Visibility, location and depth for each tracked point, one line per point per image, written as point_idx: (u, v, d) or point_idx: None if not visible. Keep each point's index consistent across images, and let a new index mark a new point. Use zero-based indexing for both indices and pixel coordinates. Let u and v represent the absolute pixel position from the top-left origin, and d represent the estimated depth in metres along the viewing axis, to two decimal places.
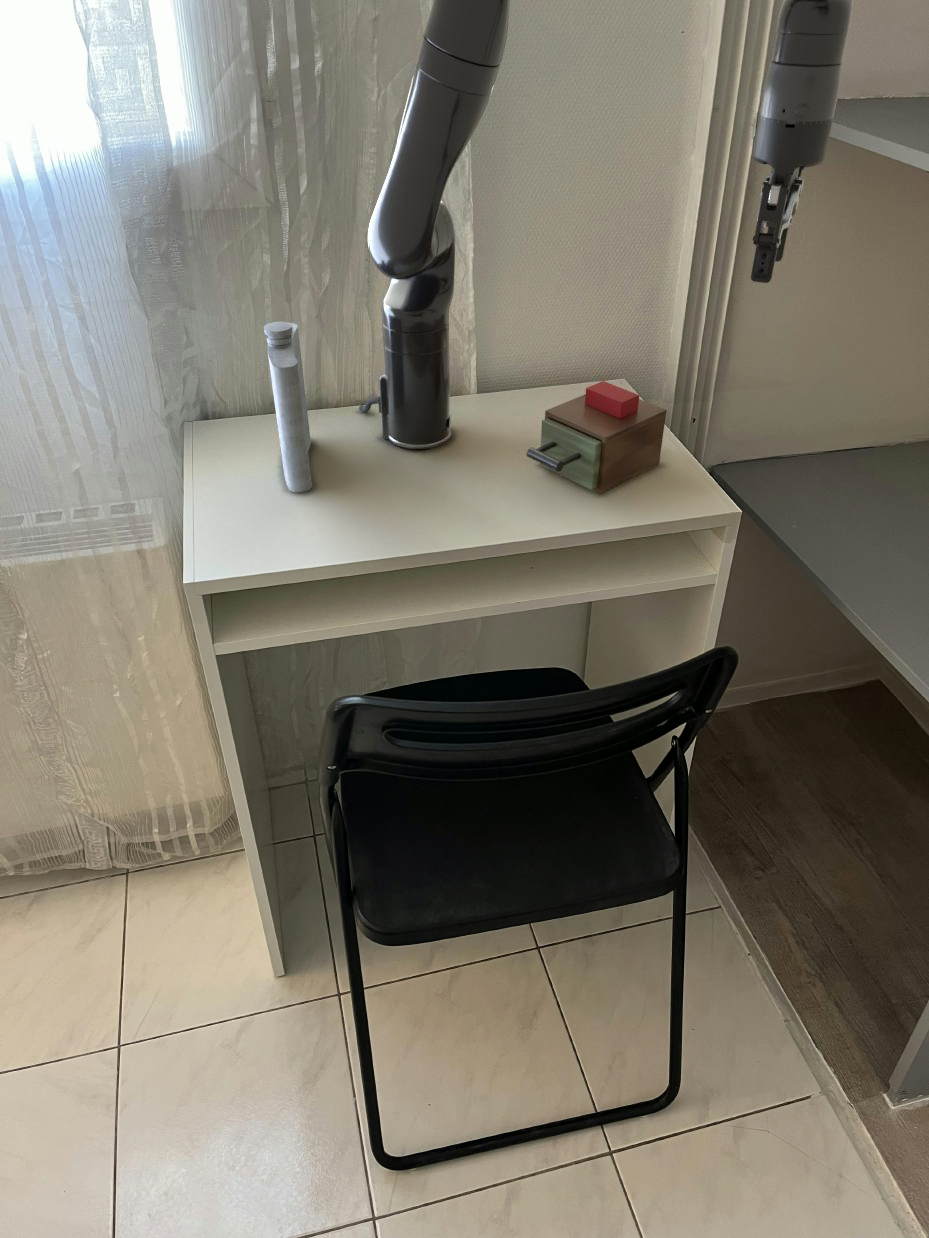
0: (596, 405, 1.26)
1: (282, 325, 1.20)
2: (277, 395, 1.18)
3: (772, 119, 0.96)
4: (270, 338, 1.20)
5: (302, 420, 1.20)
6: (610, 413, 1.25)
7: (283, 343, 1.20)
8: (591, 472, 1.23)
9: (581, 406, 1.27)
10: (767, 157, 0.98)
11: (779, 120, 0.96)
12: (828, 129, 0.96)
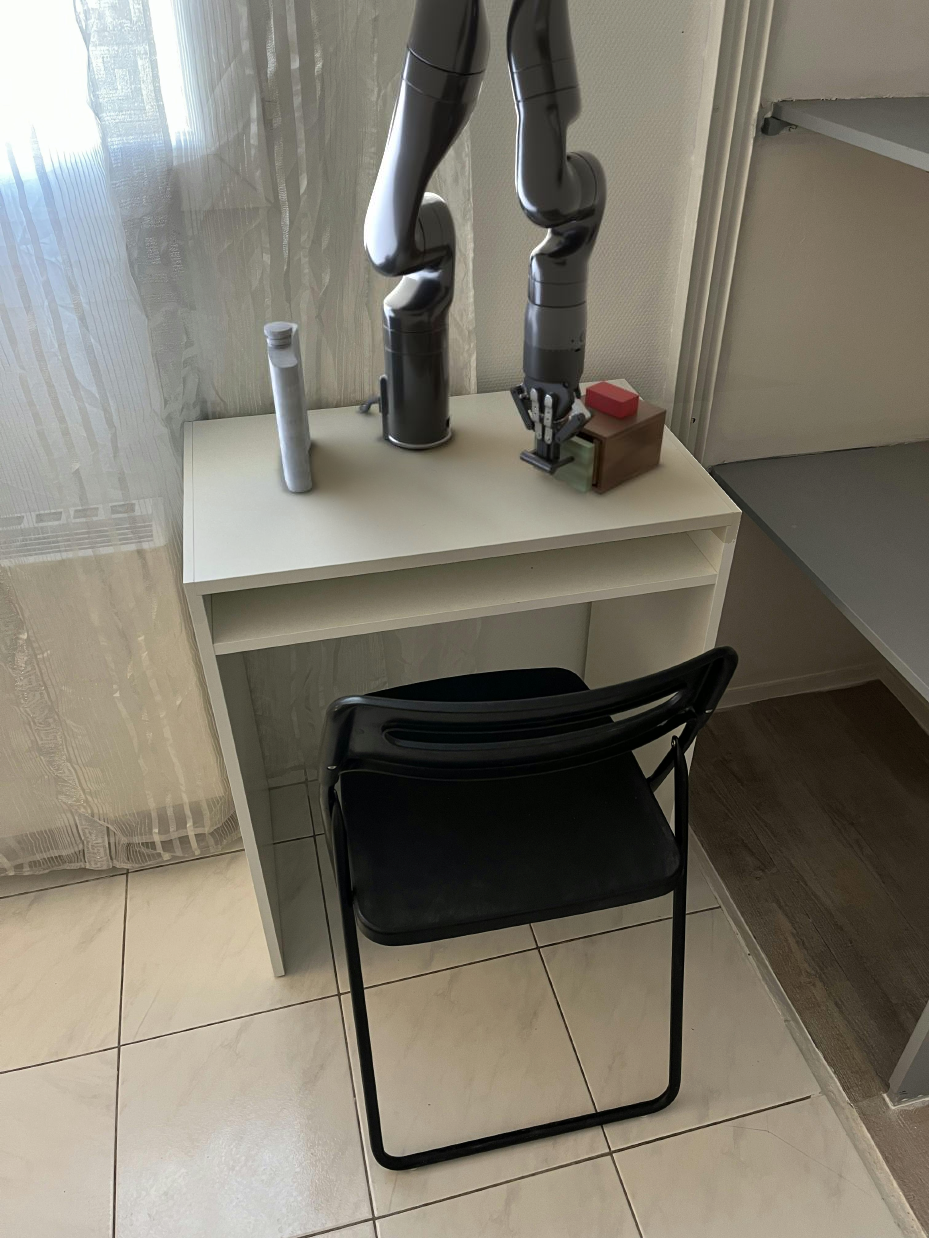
0: (596, 405, 1.26)
1: (282, 325, 1.20)
2: (277, 395, 1.18)
3: (563, 349, 1.10)
4: (270, 338, 1.20)
5: (302, 420, 1.20)
6: (610, 413, 1.25)
7: (283, 343, 1.20)
8: (584, 475, 1.22)
9: None
10: (563, 378, 1.12)
11: (569, 348, 1.10)
12: None
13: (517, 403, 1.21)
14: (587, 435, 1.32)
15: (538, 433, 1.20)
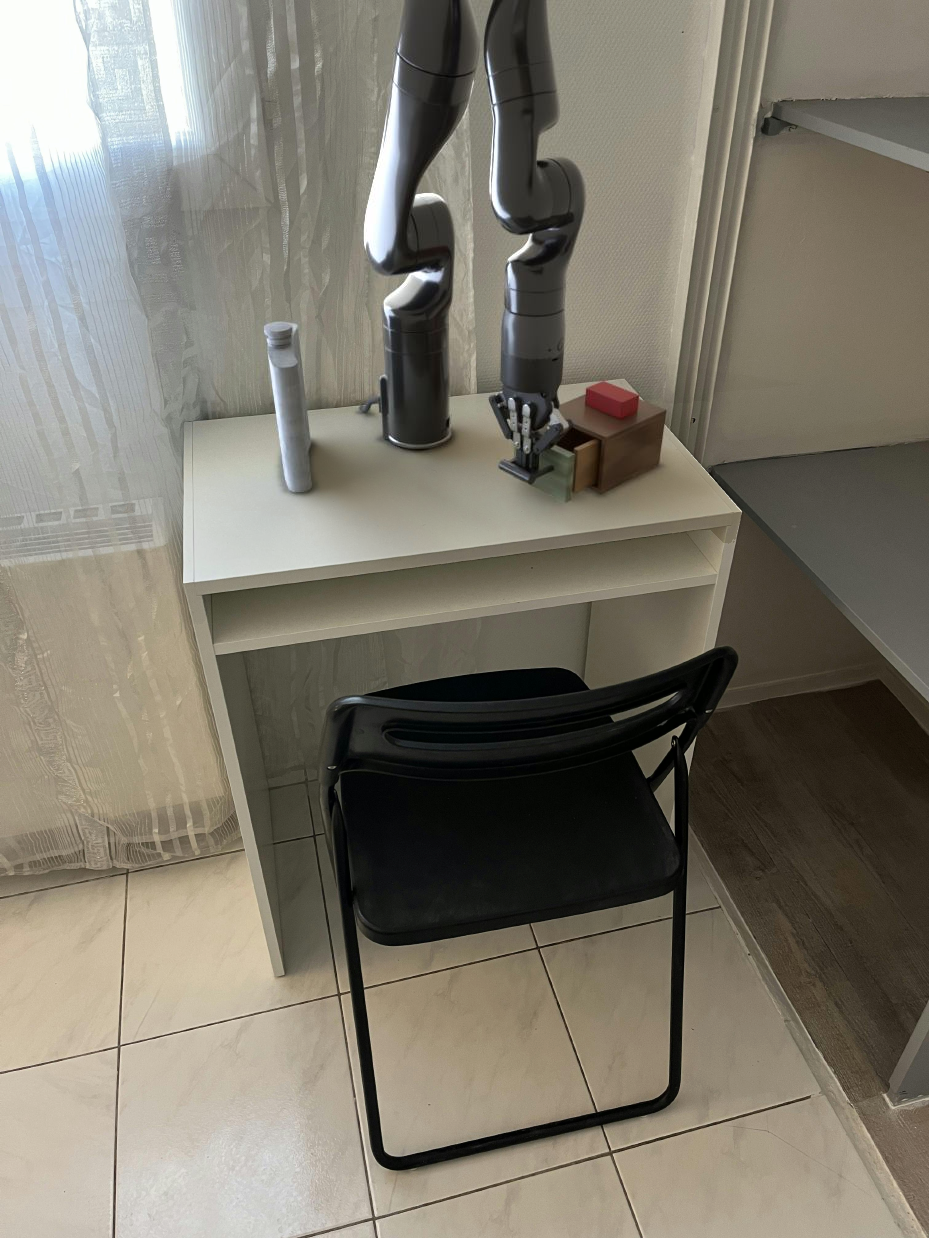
0: (596, 405, 1.26)
1: (282, 325, 1.20)
2: (277, 395, 1.18)
3: (540, 358, 1.08)
4: (270, 338, 1.20)
5: (302, 420, 1.20)
6: (610, 413, 1.25)
7: (283, 343, 1.20)
8: (564, 485, 1.20)
9: (581, 406, 1.27)
10: (540, 387, 1.10)
11: (547, 358, 1.08)
12: None
13: (496, 412, 1.19)
14: (568, 443, 1.30)
15: (517, 443, 1.18)
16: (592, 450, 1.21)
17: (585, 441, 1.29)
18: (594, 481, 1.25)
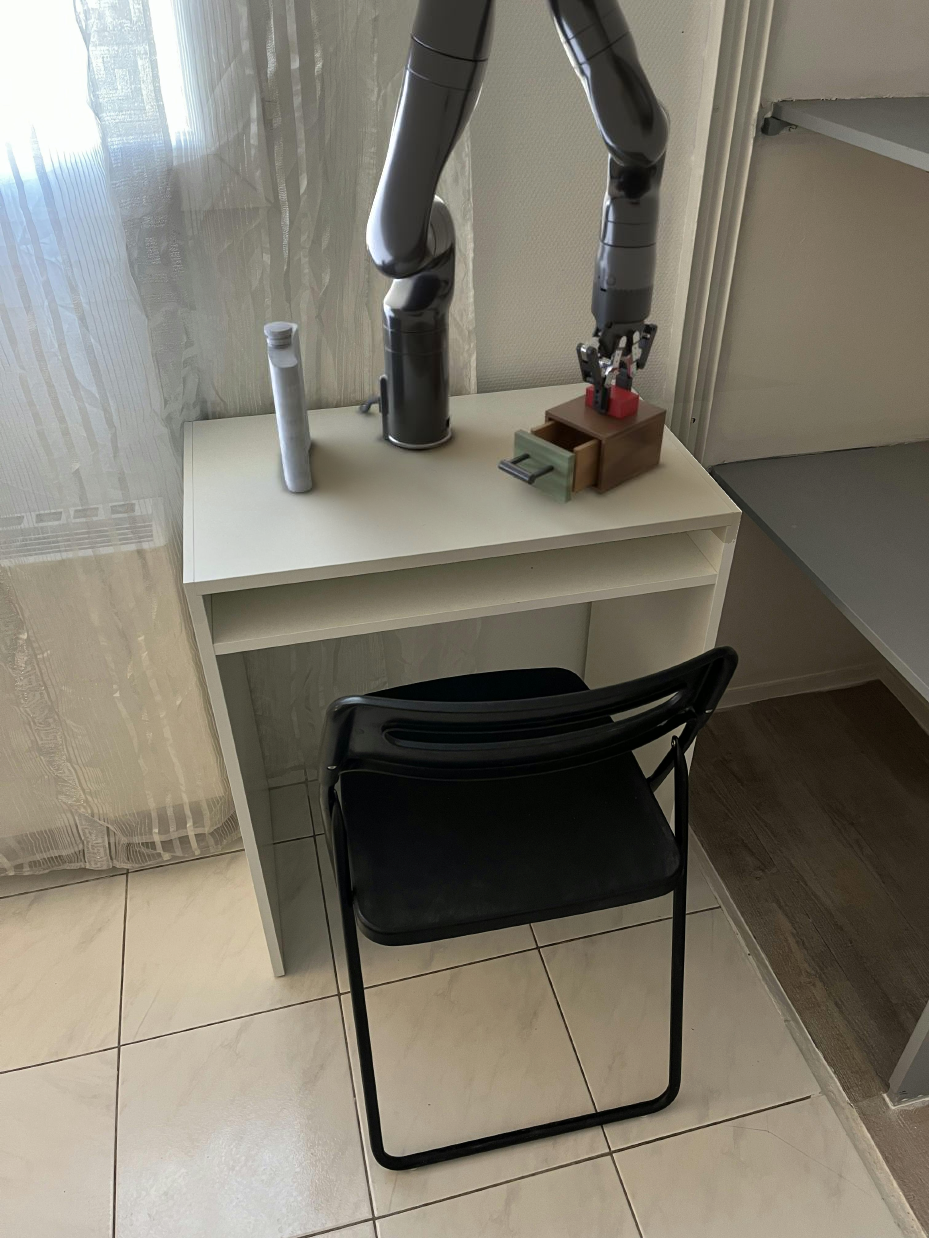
0: None
1: (282, 325, 1.20)
2: (277, 395, 1.18)
3: (595, 282, 1.16)
4: (270, 338, 1.20)
5: (302, 420, 1.20)
6: (610, 413, 1.25)
7: (283, 343, 1.20)
8: (564, 485, 1.20)
9: (581, 406, 1.27)
10: (593, 311, 1.18)
11: (597, 284, 1.15)
12: (639, 296, 1.14)
13: None
14: (568, 443, 1.30)
15: None
16: (592, 450, 1.21)
17: (585, 441, 1.29)
18: (594, 481, 1.25)
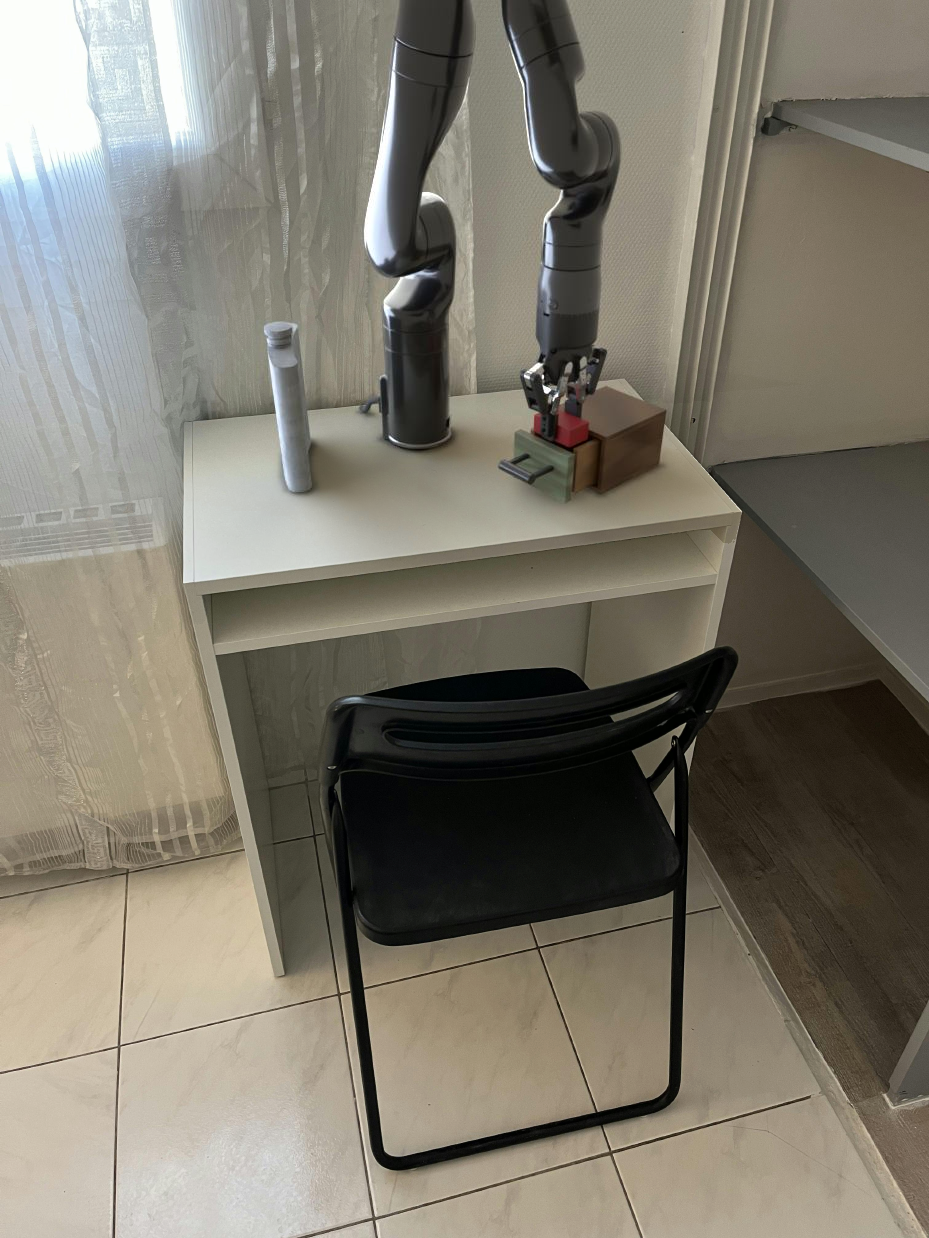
0: None
1: (282, 325, 1.20)
2: (277, 395, 1.18)
3: (538, 306, 1.11)
4: (270, 338, 1.20)
5: (302, 420, 1.20)
6: (558, 441, 1.20)
7: (283, 343, 1.20)
8: (564, 485, 1.20)
9: None
10: (537, 336, 1.13)
11: (540, 308, 1.11)
12: (583, 321, 1.10)
13: None
14: None
15: None
16: (592, 450, 1.21)
17: (585, 441, 1.29)
18: (594, 481, 1.25)
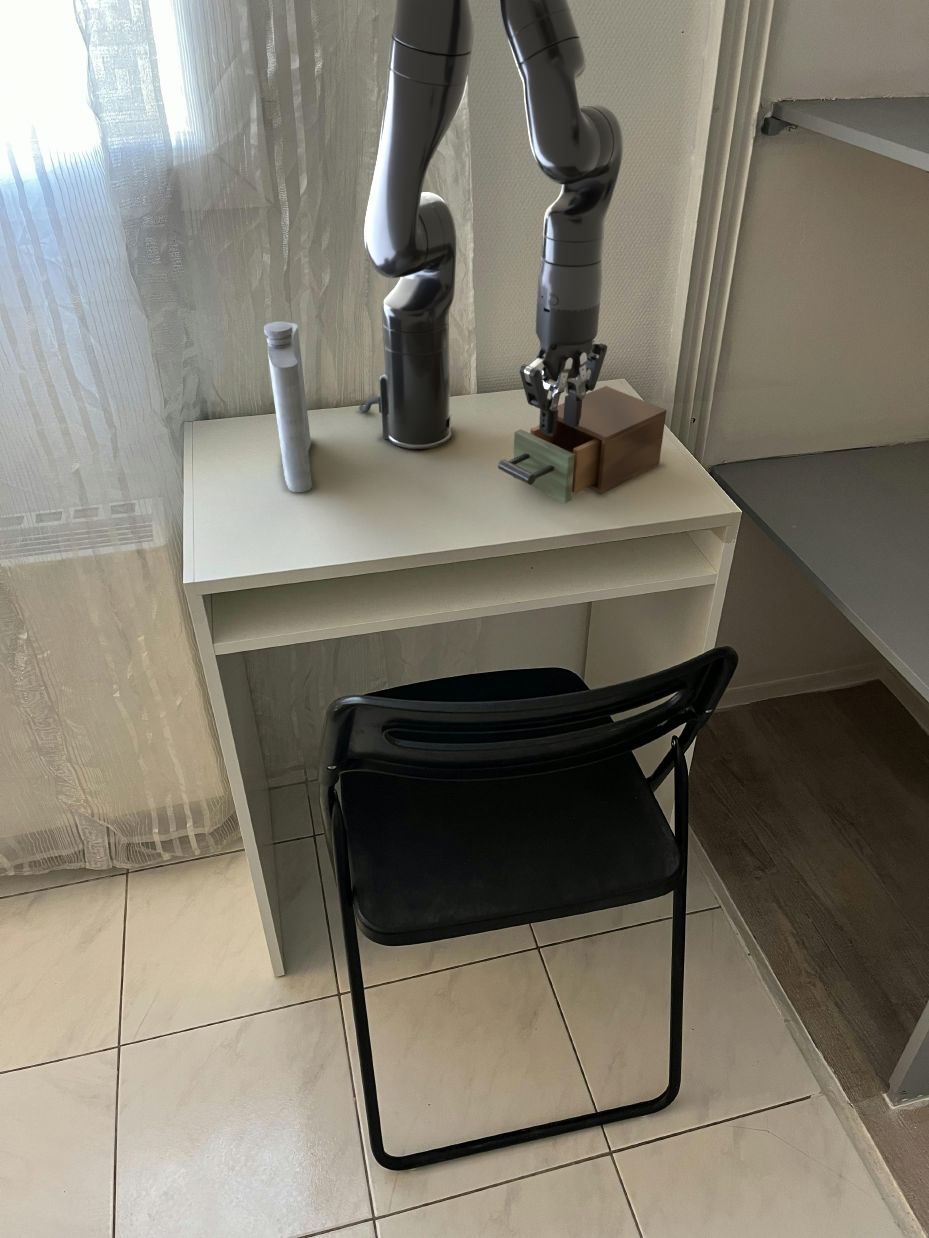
0: None
1: (282, 325, 1.20)
2: (277, 395, 1.18)
3: (538, 301, 1.11)
4: (270, 338, 1.20)
5: (302, 420, 1.20)
6: None
7: (283, 343, 1.20)
8: (564, 485, 1.20)
9: None
10: (537, 331, 1.13)
11: (540, 303, 1.10)
12: (584, 317, 1.09)
13: None
14: (568, 443, 1.30)
15: None
16: (592, 450, 1.21)
17: (585, 441, 1.29)
18: (594, 481, 1.25)
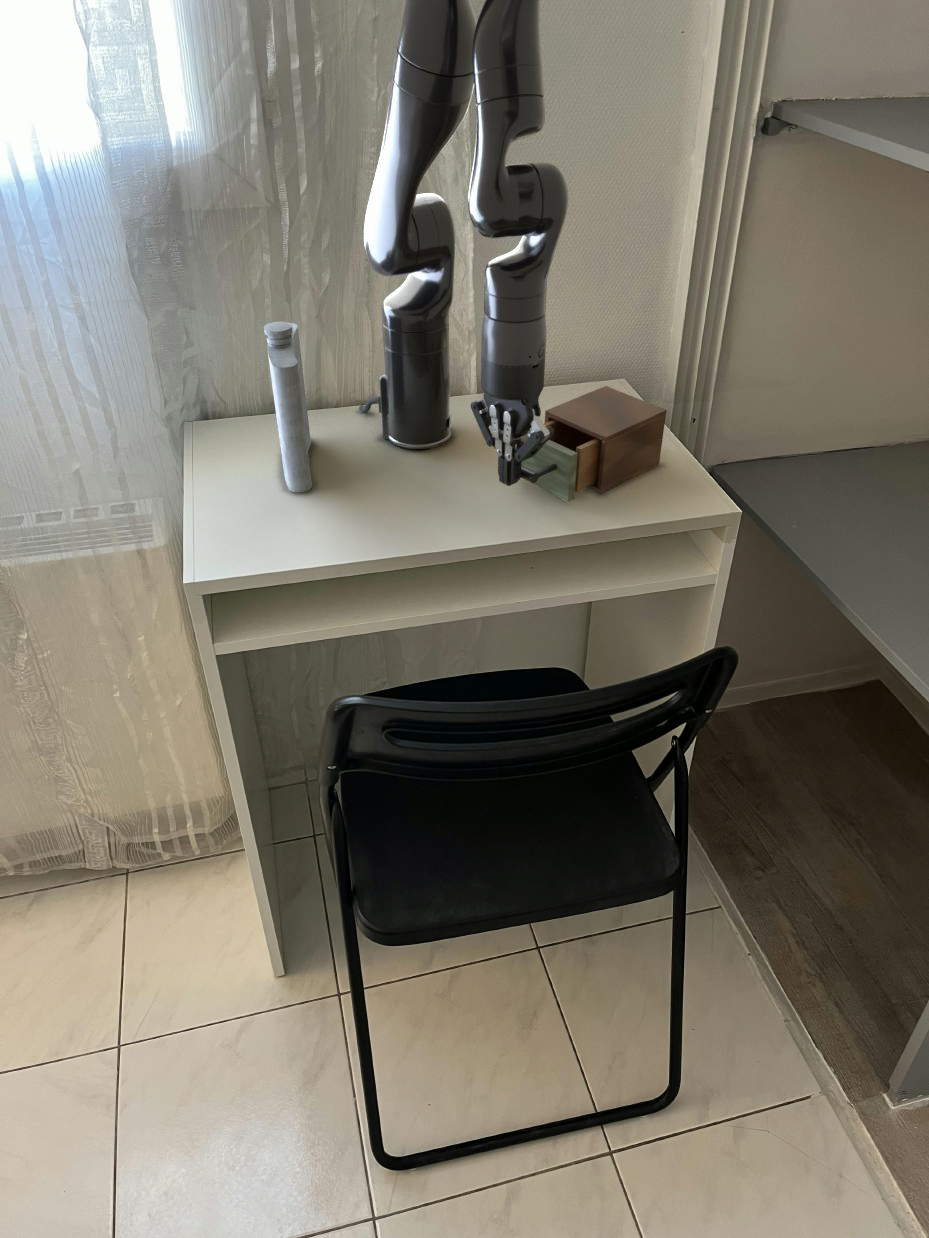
0: None
1: (282, 325, 1.20)
2: (277, 395, 1.18)
3: (520, 365, 1.06)
4: (270, 338, 1.20)
5: (302, 420, 1.20)
6: None
7: (283, 343, 1.20)
8: (567, 483, 1.20)
9: (581, 406, 1.27)
10: (521, 395, 1.09)
11: (527, 365, 1.07)
12: None
13: (478, 419, 1.17)
14: (571, 442, 1.30)
15: (498, 450, 1.17)
16: (595, 449, 1.22)
17: (587, 440, 1.29)
18: (597, 479, 1.25)
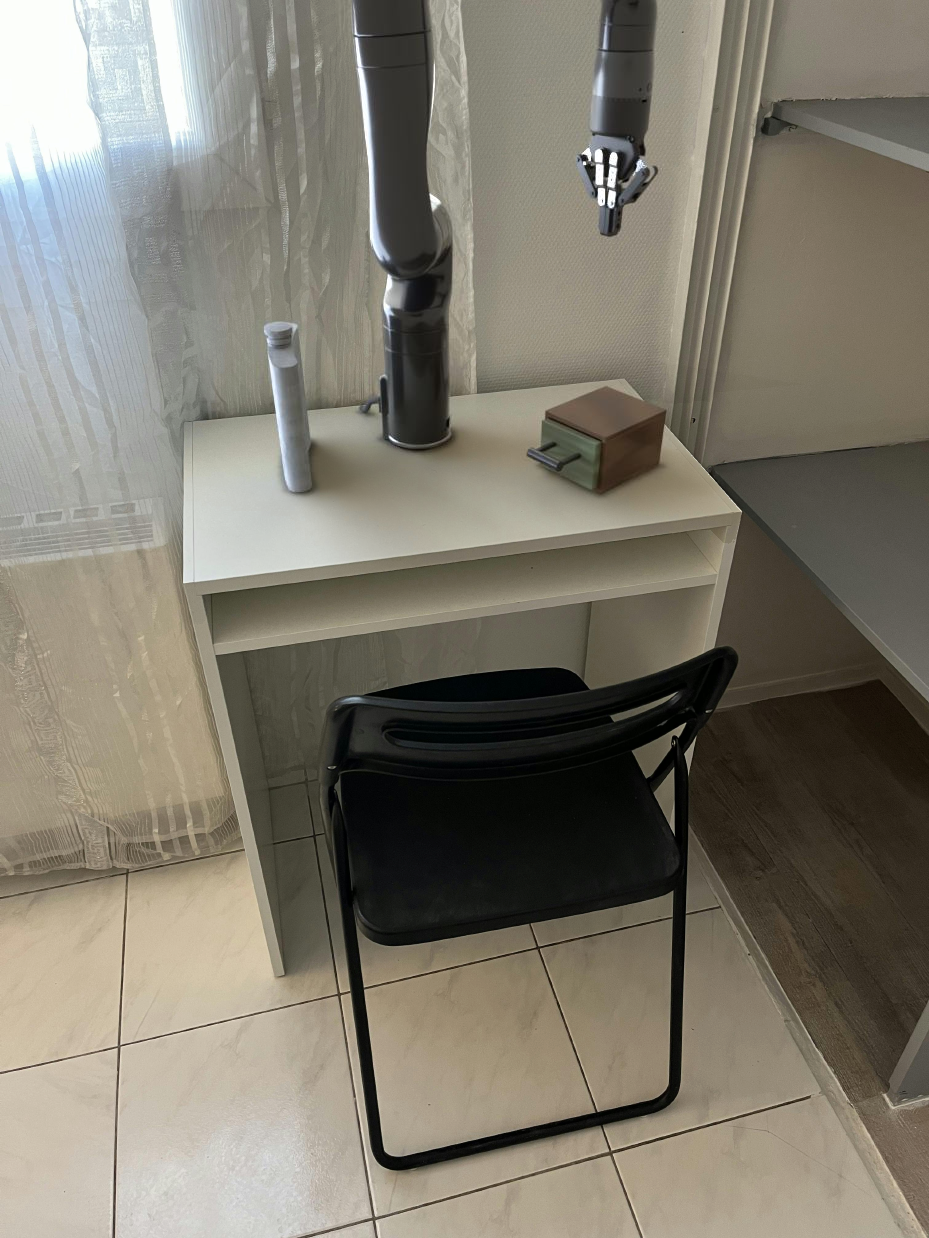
0: None
1: (282, 325, 1.20)
2: (277, 395, 1.18)
3: (631, 98, 1.14)
4: (270, 338, 1.20)
5: (302, 420, 1.20)
6: None
7: (283, 343, 1.20)
8: (591, 472, 1.23)
9: (581, 406, 1.27)
10: (629, 130, 1.17)
11: (637, 98, 1.15)
12: None
13: (581, 172, 1.25)
14: None
15: (601, 199, 1.25)
16: None
17: None
18: None
